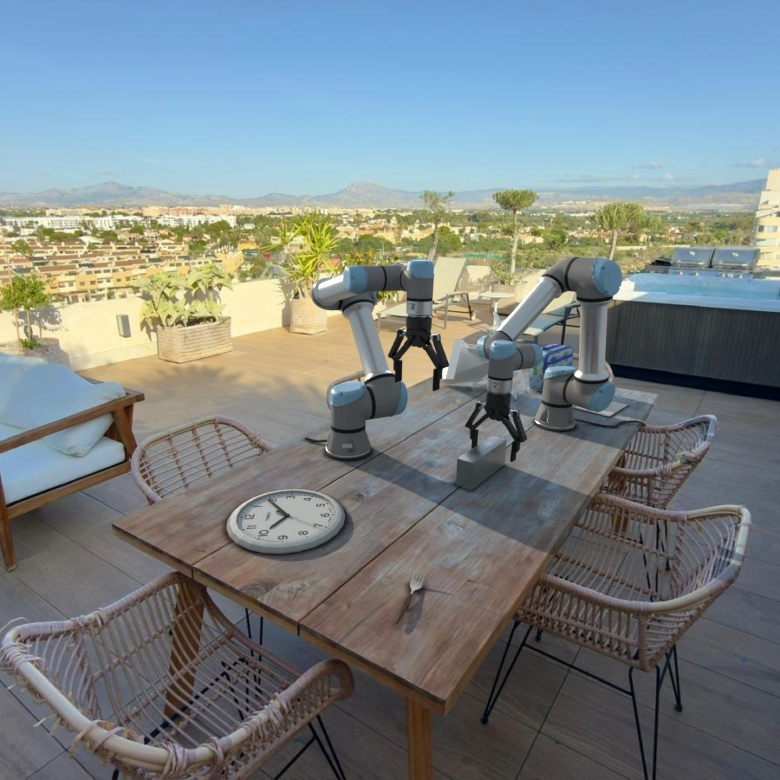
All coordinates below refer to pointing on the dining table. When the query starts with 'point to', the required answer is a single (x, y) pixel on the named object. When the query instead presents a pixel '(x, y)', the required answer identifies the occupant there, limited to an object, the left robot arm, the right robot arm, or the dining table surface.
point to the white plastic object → (472, 365)
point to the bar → (480, 462)
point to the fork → (414, 586)
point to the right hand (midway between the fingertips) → (493, 454)
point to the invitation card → (608, 409)
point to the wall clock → (285, 521)
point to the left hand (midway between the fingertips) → (416, 385)
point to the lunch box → (550, 363)
